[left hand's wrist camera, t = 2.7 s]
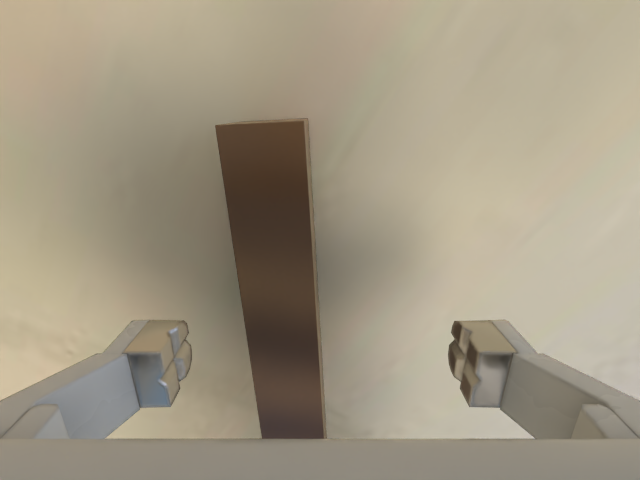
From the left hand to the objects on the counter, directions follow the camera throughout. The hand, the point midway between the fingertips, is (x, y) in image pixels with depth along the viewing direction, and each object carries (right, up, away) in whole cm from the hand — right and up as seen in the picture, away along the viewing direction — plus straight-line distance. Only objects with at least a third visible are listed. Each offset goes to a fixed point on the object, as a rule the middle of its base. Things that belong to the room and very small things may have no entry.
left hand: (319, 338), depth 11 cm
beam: (-1, -25, +26) cm, 36 cm away
